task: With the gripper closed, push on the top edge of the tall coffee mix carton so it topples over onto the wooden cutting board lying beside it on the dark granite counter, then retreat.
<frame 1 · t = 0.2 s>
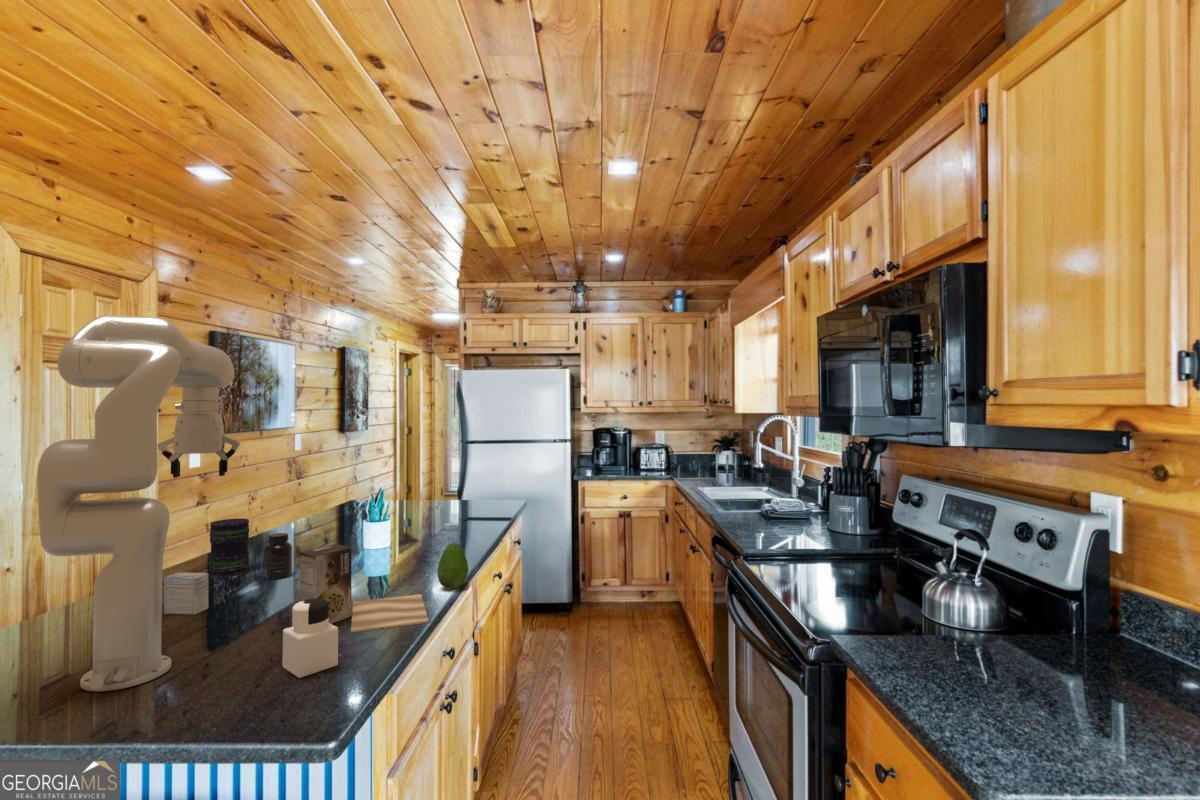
hand: (199, 476, 145), 31 cm above the counter, fingers open, 9 cm apart
avocado: (452, 588, 155), on the counter
dark purple cylinder: (229, 573, 170), on the counter
supplement bottle: (278, 577, 166), on the counter
coffee box: (325, 621, 131), on the counter
wooden cutting board: (389, 612, 136), on the counter
medicine bottle: (310, 667, 107), on the counter
medicine box: (186, 612, 137), on the counter
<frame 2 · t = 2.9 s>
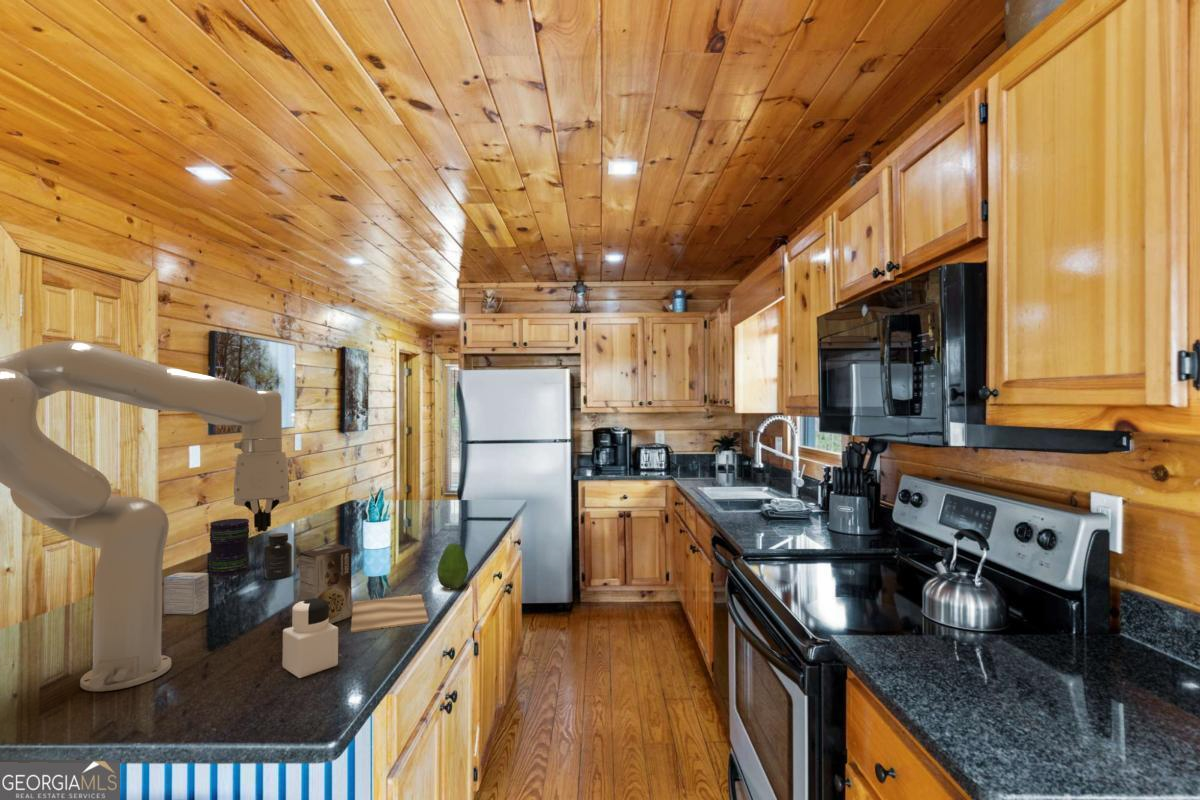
hand: (262, 530, 127), 21 cm above the counter, fingers closed
nothing on the counter moved.
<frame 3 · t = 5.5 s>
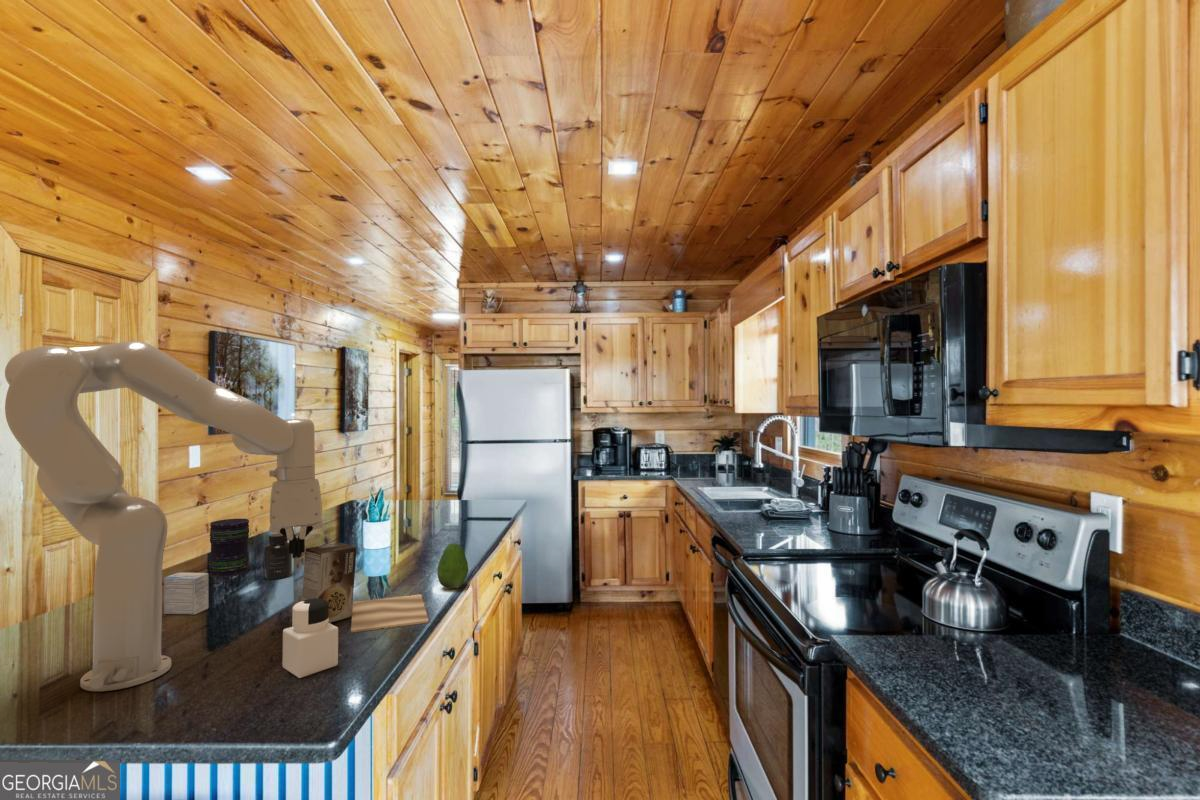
hand: (297, 556, 129), 15 cm above the counter, fingers closed
coffee box: (325, 620, 131), on the counter, touching gripper
everything else where it was.
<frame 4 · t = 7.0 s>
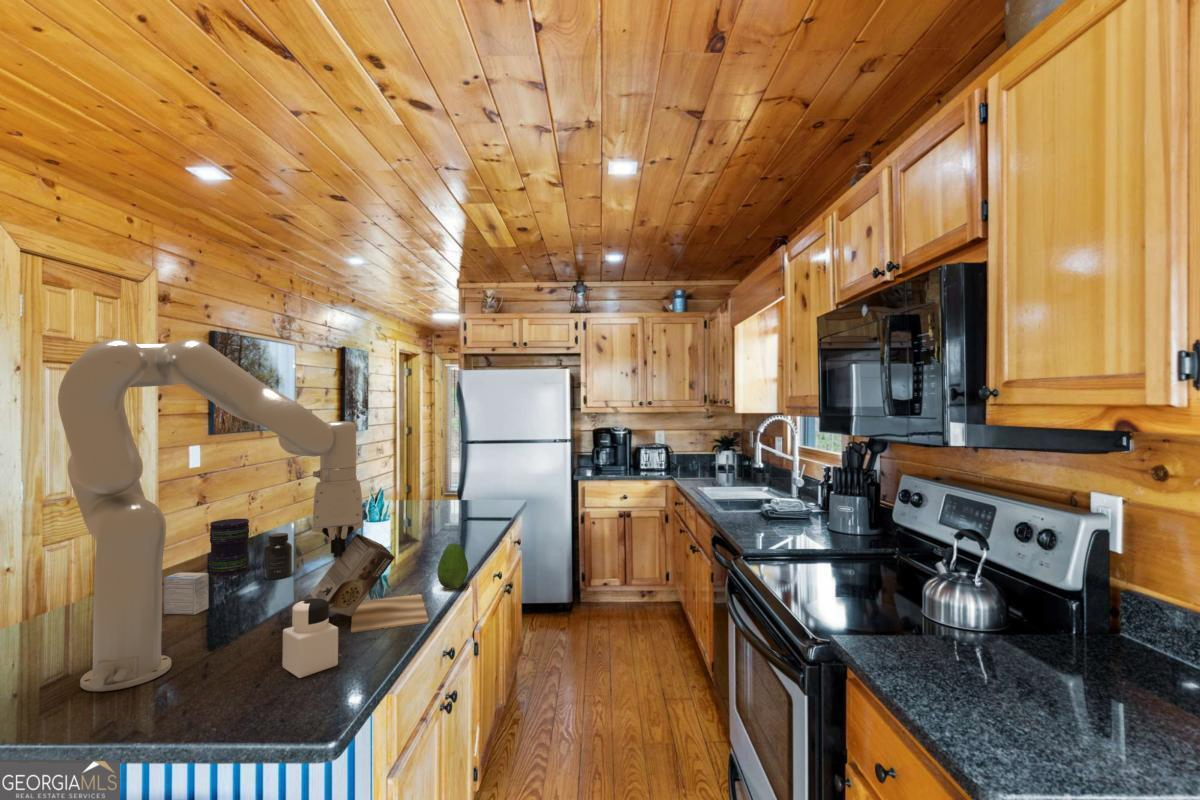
hand: (338, 555, 132), 14 cm above the counter, fingers closed
coffee box: (329, 606, 131), point 3 cm above the counter, touching gripper
everything else where it was.
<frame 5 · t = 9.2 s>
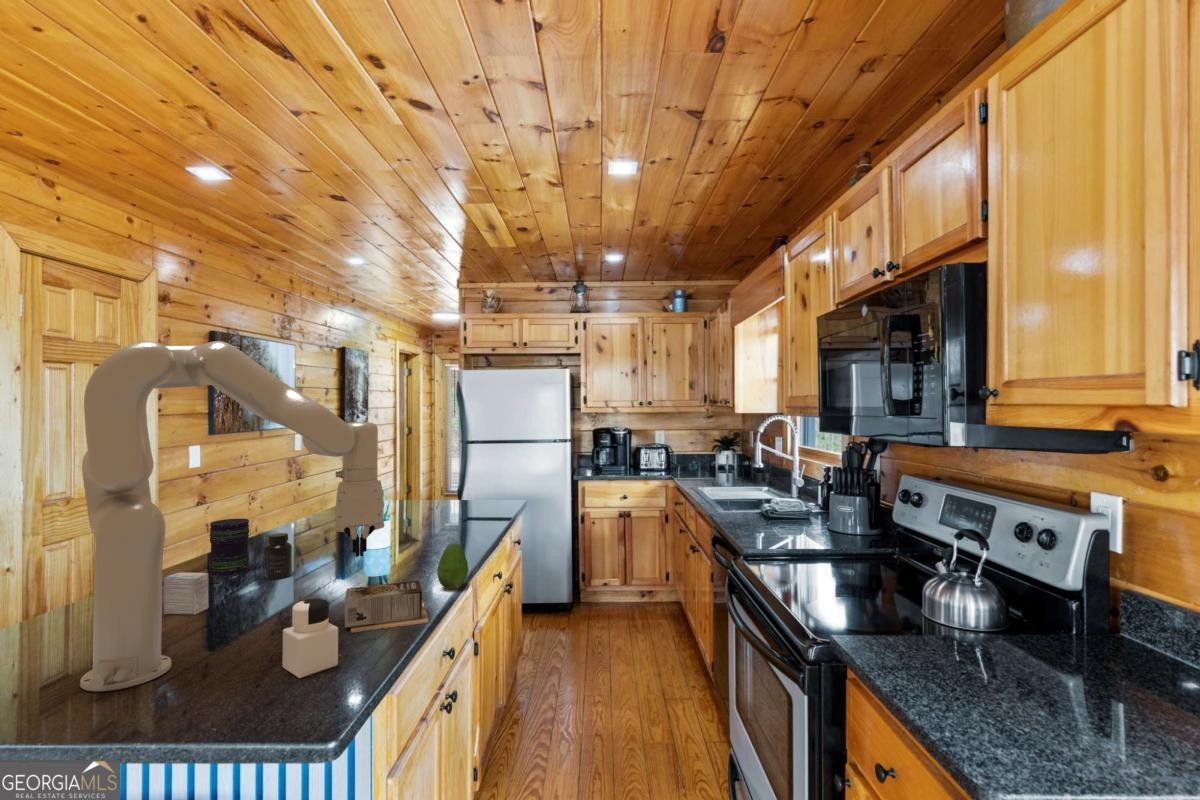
hand: (359, 555, 134), 14 cm above the counter, fingers closed
coffee box: (344, 607, 128), point 4 cm above the counter, touching wooden cutting board
everything else where it was.
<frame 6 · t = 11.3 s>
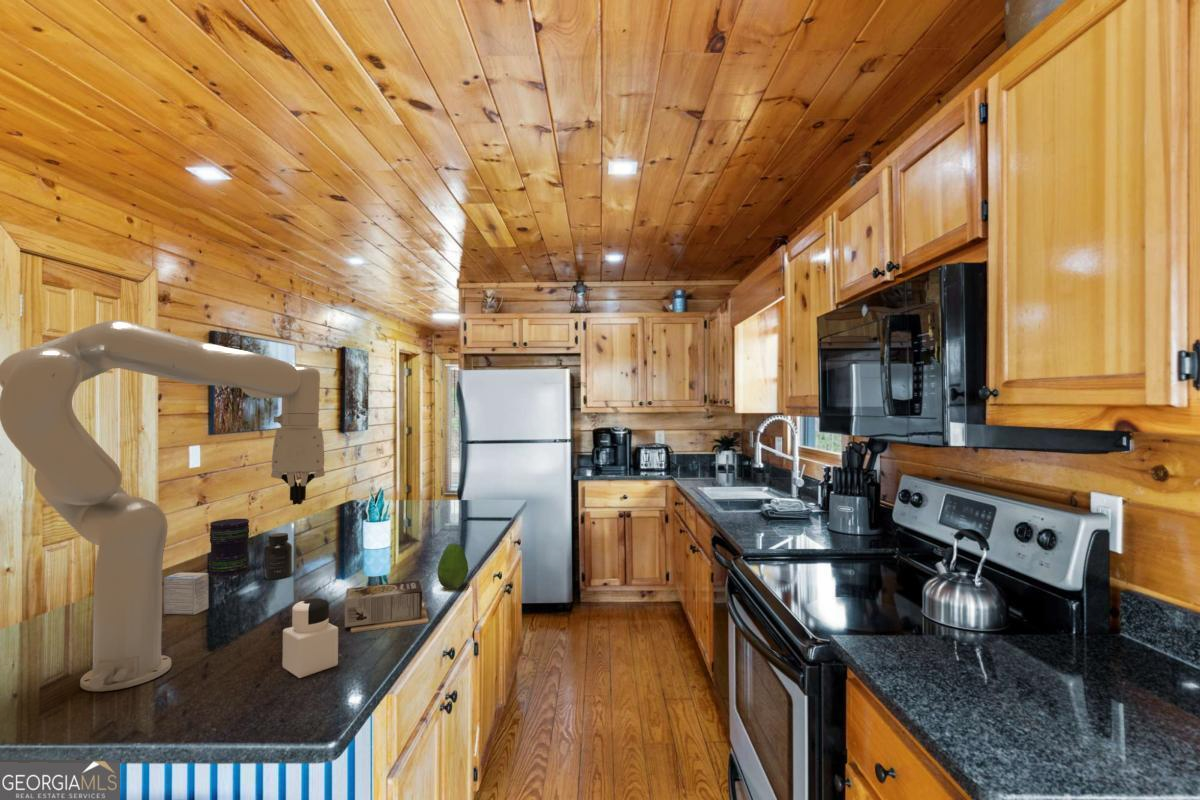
hand: (297, 503, 130), 27 cm above the counter, fingers closed
nothing on the counter moved.
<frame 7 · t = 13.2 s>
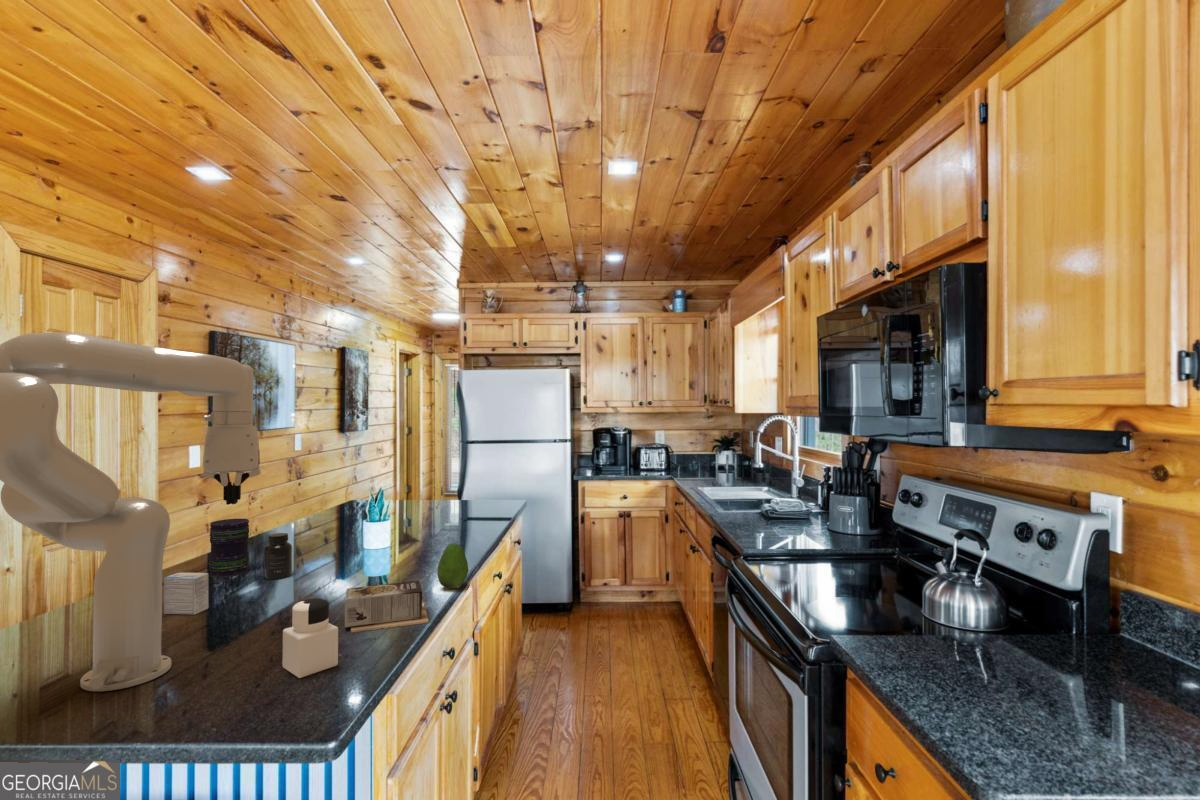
hand: (232, 503, 127), 27 cm above the counter, fingers closed
nothing on the counter moved.
at the end: coffee box tilted 90°; coffee box inside the target area (11.9 cm from its centre), point 3.7 cm above the counter; coffee box moved 6.9 cm from its start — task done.
